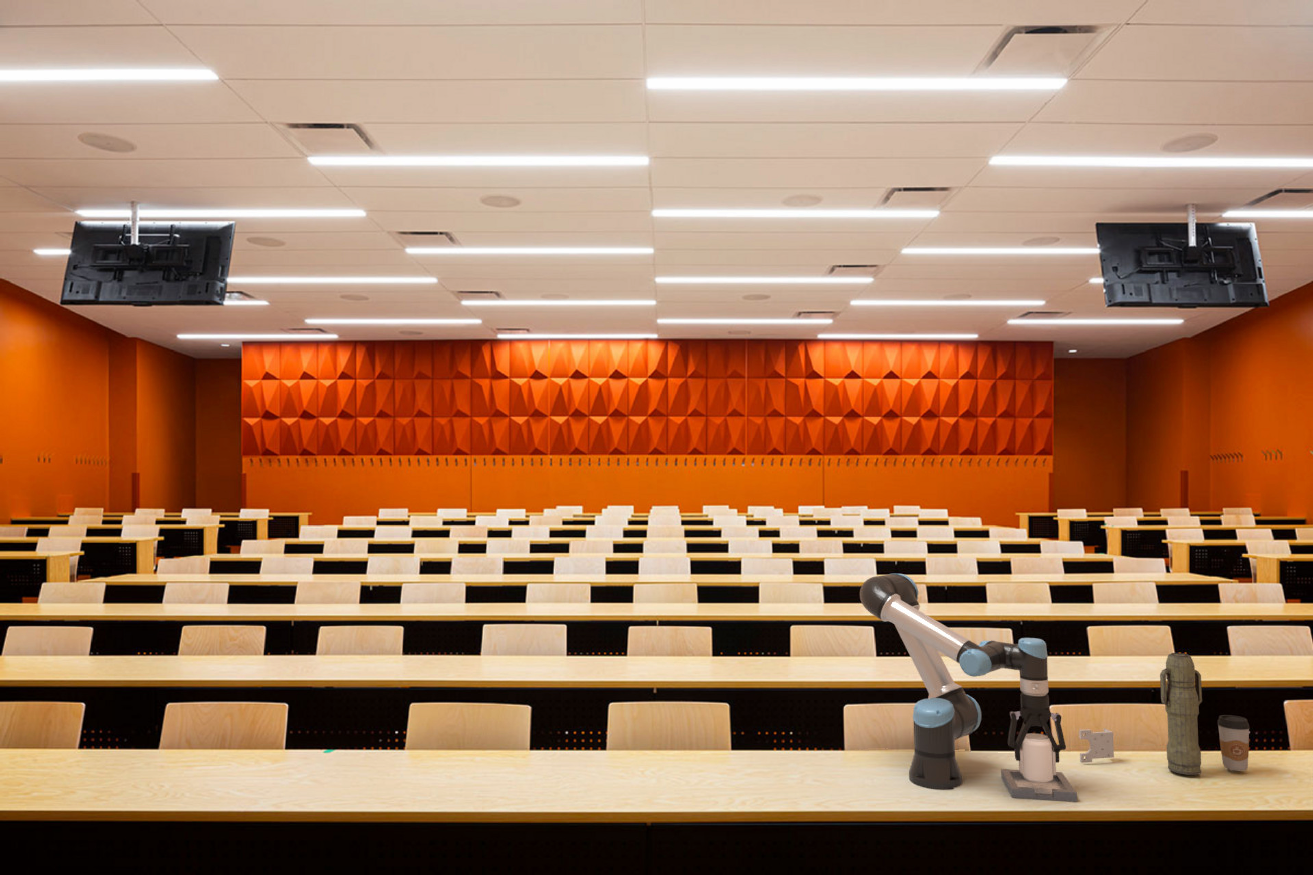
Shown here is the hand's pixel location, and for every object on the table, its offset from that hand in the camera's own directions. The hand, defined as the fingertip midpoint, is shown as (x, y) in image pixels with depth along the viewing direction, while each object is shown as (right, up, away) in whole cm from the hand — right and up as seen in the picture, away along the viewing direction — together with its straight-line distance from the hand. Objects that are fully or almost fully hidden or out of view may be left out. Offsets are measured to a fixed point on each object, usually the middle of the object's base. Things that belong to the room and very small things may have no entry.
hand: (1037, 772), depth 249 cm
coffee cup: (+68, -5, +16) cm, 70 cm away
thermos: (+51, -5, +14) cm, 54 cm away
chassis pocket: (0, -5, 0) cm, 5 cm away
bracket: (+29, -6, +25) cm, 39 cm away
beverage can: (0, -2, 0) cm, 2 cm away
